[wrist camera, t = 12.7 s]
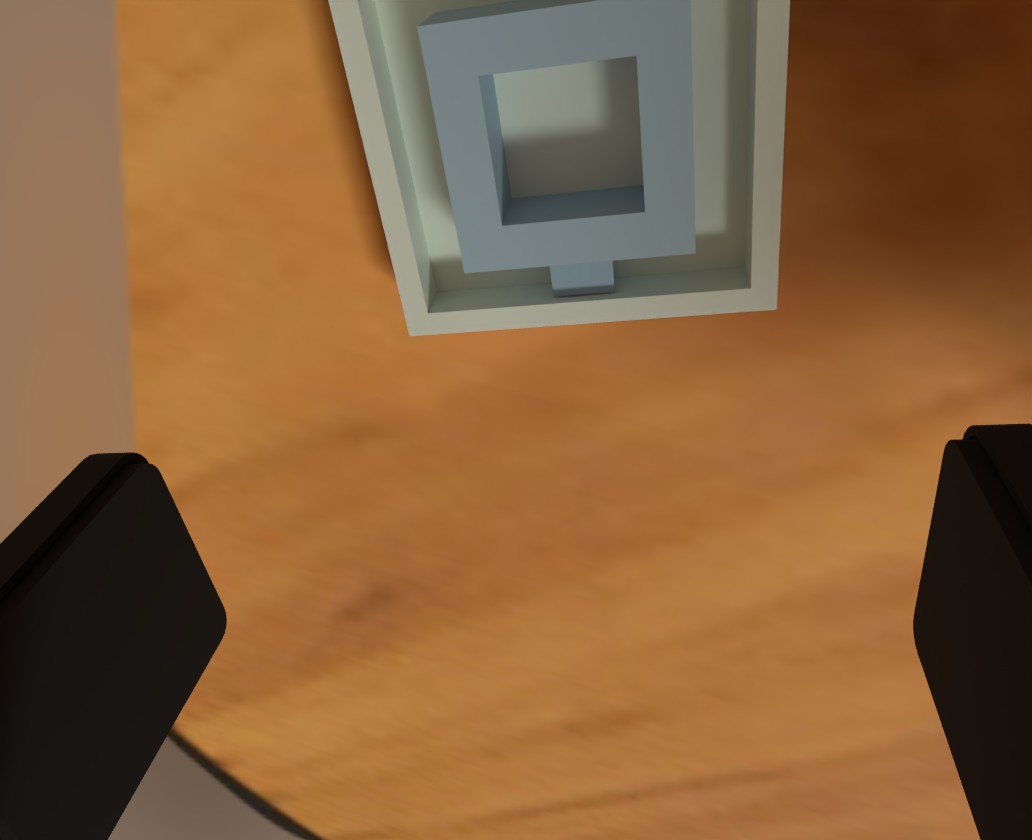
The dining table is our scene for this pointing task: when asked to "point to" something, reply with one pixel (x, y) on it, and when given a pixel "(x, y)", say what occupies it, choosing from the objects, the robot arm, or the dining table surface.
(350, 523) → the dining table surface
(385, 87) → the tray
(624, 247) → the blue-grey rectangular frame
